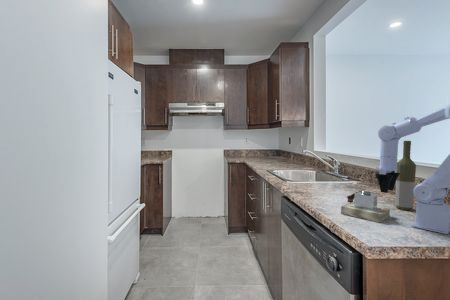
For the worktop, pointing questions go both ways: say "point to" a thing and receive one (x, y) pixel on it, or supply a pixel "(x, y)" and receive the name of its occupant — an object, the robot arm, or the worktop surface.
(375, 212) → the stand
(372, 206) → the block
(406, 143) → the bottle
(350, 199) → the broken clay pot shard
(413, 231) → the worktop surface
